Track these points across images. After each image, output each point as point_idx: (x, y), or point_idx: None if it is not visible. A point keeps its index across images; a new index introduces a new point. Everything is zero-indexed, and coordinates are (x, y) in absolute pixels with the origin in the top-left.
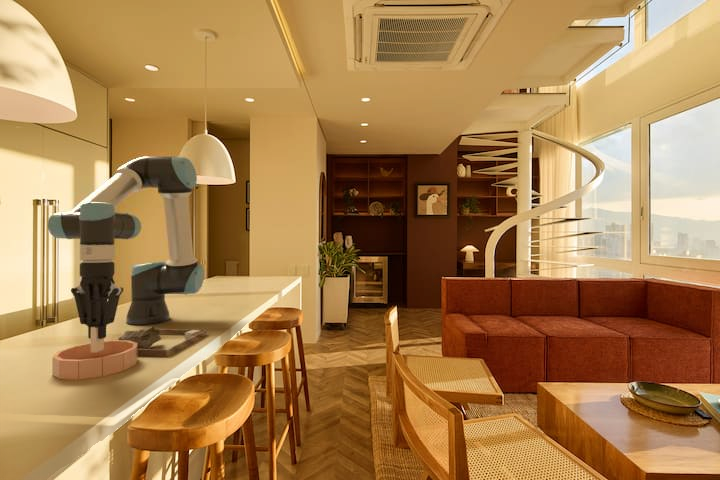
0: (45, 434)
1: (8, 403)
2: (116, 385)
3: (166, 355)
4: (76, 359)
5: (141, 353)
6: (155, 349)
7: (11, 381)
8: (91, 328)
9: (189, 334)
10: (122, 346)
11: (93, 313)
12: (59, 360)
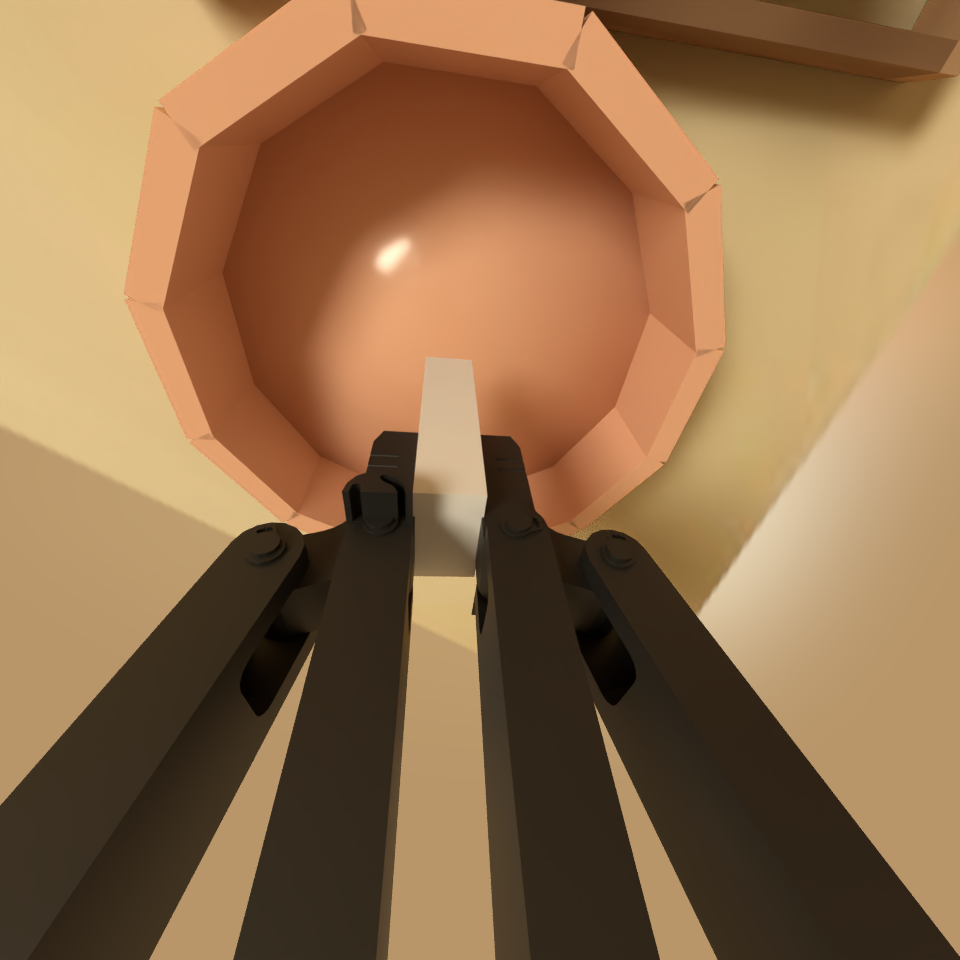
0: None
1: (411, 618)
2: (650, 532)
3: (897, 79)
4: (219, 270)
5: (672, 34)
6: (840, 25)
7: (212, 515)
8: (423, 566)
9: None
10: (505, 68)
11: (402, 720)
12: None
